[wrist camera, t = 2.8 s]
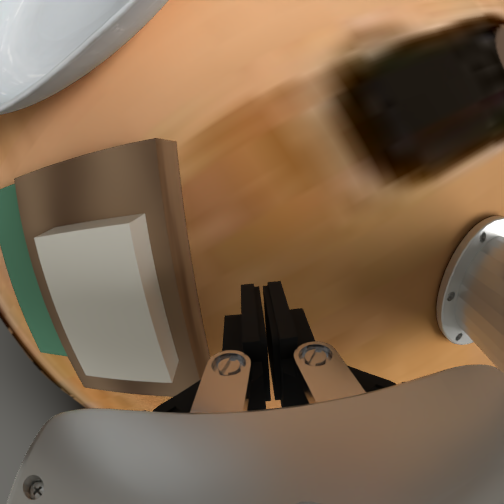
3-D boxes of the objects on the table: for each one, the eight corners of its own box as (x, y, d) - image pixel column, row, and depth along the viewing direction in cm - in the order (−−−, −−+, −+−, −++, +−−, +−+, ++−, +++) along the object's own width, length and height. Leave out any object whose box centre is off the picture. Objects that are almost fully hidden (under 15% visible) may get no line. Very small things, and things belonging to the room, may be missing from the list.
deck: (176, 141, 15) (155, 138, 12) (210, 360, 21) (204, 397, 17) (50, 171, 16) (14, 178, 12) (102, 357, 21) (84, 387, 17)
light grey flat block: (144, 213, 13) (129, 223, 11) (178, 360, 16) (172, 382, 14) (54, 227, 13) (33, 237, 11) (97, 356, 16) (86, 375, 14)
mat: (48, 172, 16) (45, 172, 15) (100, 357, 21) (98, 359, 21) (-7, 192, 16) (-10, 193, 15) (42, 349, 21) (40, 352, 21)
